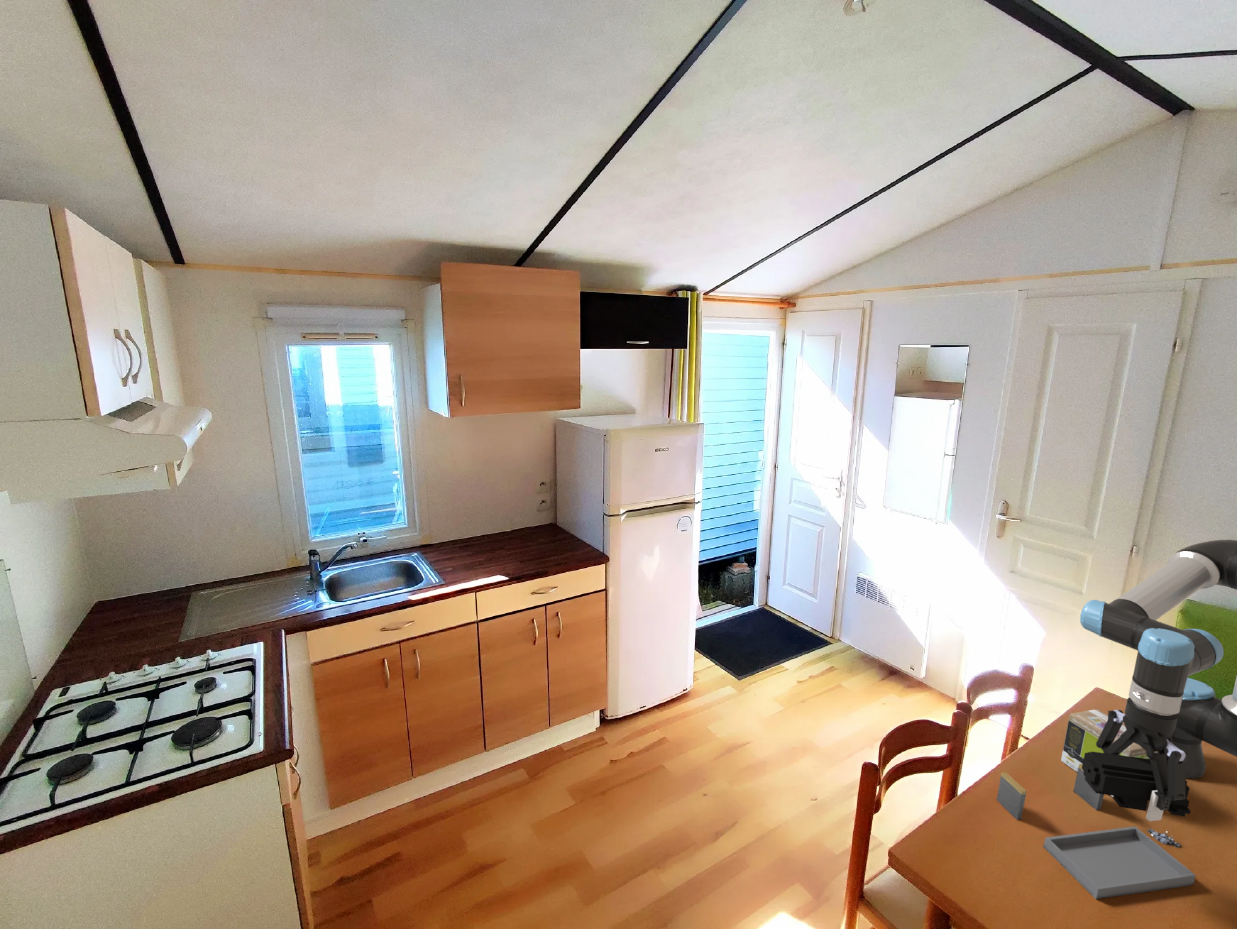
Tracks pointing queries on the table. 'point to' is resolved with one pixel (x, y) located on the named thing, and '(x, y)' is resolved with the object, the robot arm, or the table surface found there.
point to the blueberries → (1164, 838)
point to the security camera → (1126, 781)
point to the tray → (1118, 862)
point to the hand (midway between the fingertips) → (1130, 801)
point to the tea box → (1090, 738)
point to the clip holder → (1015, 794)
